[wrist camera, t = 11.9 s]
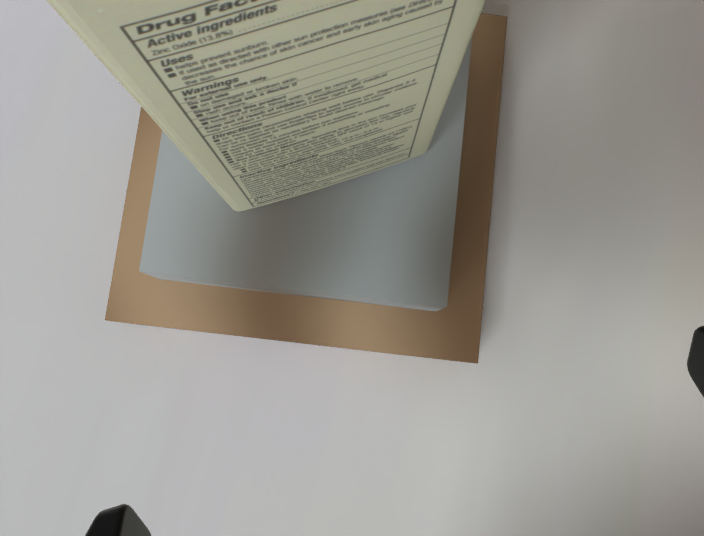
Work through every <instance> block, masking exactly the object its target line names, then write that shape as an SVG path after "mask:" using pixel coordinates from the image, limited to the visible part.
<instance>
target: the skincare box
mask: <svg viewBox="0 0 704 536" xmlns="http://www.w3.org/2000/svg"><path fill="white" fill-rule="evenodd" d="M47 1H48V3H49V4H50V5H51V6H52V7H53V8H54V9H55V10H56V12H57V13H58V14H59V15H60V16H61V17H62V18H63V19H64V21H65V22H66V23H67V24H68V25H69V26H70V27H71V28H72V29H73V30H74V31H75V33H76V34H77V35H78V36H79V37H80V38H81V39H82V41H83V42H84V43H85V44H86V45H87V46H88V47H89V49H90V50H91V51H92V52H93V53H94V54H95V55H96V56H97V58H98V59H99V60H100V61H101V62H102V63H103V64H104V65H105V66H106V68H107V69H108V70H109V71H110V72H111V73H112V74H113V75H114V77H115V78H116V79H117V80H118V81H119V82H120V83H121V84H122V86H123V87H124V88H125V89H126V90H127V91H128V92H129V93H130V94H131V96H132V97H133V98H134V99H135V100H136V101H137V102H138V103H139V104H140V105H141V107H142V108H143V109H144V110H145V111H146V112H147V113H148V114H149V115H150V116H151V118H152V119H153V120H154V121H155V122H156V124H157V125H158V126H159V127H160V128H161V129H162V130H163V132H164V133H165V134H166V135H167V136H168V137H169V138H170V140H171V141H172V142H173V143H174V144H175V145H176V146H177V147H178V148H179V149H180V151H181V152H182V153H183V154H184V155H185V156H186V157H187V158H188V159H189V160H190V162H191V163H192V164H193V165H194V166H195V167H196V168H197V170H198V171H199V172H200V173H201V174H202V175H203V176H204V177H205V179H206V180H207V181H208V182H209V183H210V184H211V185H212V187H213V188H214V189H215V190H216V191H217V192H218V193H219V194H220V195H221V197H222V198H223V199H224V200H225V201H226V202H227V203H228V204H229V205H230V207H231V208H232V209H233V210H235V211H239V212H240V211H245V210H249V209H252V208H256V207H259V206H263V205H267V204H271V203H274V202H278V201H281V200H285V199H288V198H291V197H295V196H299V195H302V194H305V193H308V192H312V191H315V190H318V189H322V188H325V187H328V186H331V185H334V184H337V183H340V182H344V181H347V180H350V179H353V178H356V177H359V176H362V175H365V174H368V173H371V172H374V171H377V170H380V169H383V168H386V167H389V166H392V165H395V164H398V163H401V162H403V161H406V160H409V159H411V158H415V157H418V156H421V155H423V154H425V153H426V152H427V150H428V148H429V145H430V142H431V140H432V138H433V135H434V132H435V130H436V127H437V124H438V122H439V119H440V117H441V114H442V112H443V109H444V106H445V104H446V101H447V99H448V96H449V94H450V91H451V88H452V85H453V83H454V81H455V78H456V76H457V73H458V71H459V68H460V65H461V63H462V60H463V57H464V55H465V52H466V49H467V47H468V44H469V42H470V39H471V37H472V34H473V32H474V29H475V27H476V24H477V22H478V19H479V17H480V14H481V12H482V9H483V6H484V4H485V1H486V0H47Z"/></svg>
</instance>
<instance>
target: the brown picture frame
mask: <svg viewBox="0 0 704 536" xmlns="http://www.w3.org/2000/svg"><path fill="white" fill-rule="evenodd" d="M506 25H507V16H499V15H491V14H482V13H481V14H480V17H479V19H478V22H477V24H476V27H475V29H474V32H473V34H472V37H471V39H470V42H469V44H468V47H467V49H466V52H465V55H464V57H463V60H462V63H461V65H460V68H459V71H458V73H457V76H456V78H455V81H454V83H453V85H452V88H451V91H450V94H449V96H448V99H447V101H446V104H445V106H444V109H443V112H442V114H441V117H440V119H439V122H438V124H437V127H436V130H435V132H434V135H433V138H432V140H431V142H430V145H429V148H428V150H427V152H426V153H425V154H423V155H421V156H418V157H415V158H411V159H409V160H406V161H403V162H401V163H398V164H395V165H392V166H389V167H386V168H383V169H380V170H377V171H374V172H371V173H368V174H365V175H362V176H359V177H356V178H353V179H350V180H347V181H344V182H340V183H337V184H334V185H331V186H328V187H325V188H322V189H318V190H315V191H312V192H308V193H305V194H302V195H299V196H295V197H291V198H288V199H285V200H281V201H278V202H274V203H271V204H267V205H263V206H259V207H256V208H252V209H249V210H245V211H240V212H239V211H235V210H233V209H232V208H231V207H230V205H229V204H228V203H227V202H226V201H225V200H224V199H223V198H222V197H221V195H220V194H219V193H218V192H217V191H216V190H215V189H214V188H213V187H212V185H211V184H210V183H209V182H208V181H207V180H206V179H205V177H204V176H203V175H202V174H201V173H200V172H199V171H198V170H197V168H196V167H195V166H194V165H193V164H192V163H191V162H190V160H189V159H188V158H187V157H186V156H185V155H184V154H183V153H182V152H181V151H180V149H179V148H178V147H177V146H176V145H175V144H174V143H173V142H172V141H171V140H170V138H169V137H168V136H167V135H166V134H165V133H164V132H163V130H162V129H161V128H160V127H159V126H158V125H157V124H156V122H155V121H154V120H153V119H152V118H151V116H150V115H149V114H148V113H147V112H146V111H145V110H144V109H143V108H142V107H141V112H140V118H139V124H138V129H137V135H136V141H135V147H134V153H133V159H132V164H131V170H130V176H129V182H128V188H127V194H126V200H125V205H124V211H123V217H122V223H121V229H120V235H119V241H118V246H117V252H116V258H115V264H114V270H113V276H112V281H111V287H110V293H109V299H108V305H107V311H106V317H105V320H108V321H115V322H123V323H132V324H140V325H149V326H158V327H166V328H175V329H183V330H192V331H201V332H209V333H218V334H227V335H235V336H244V337H253V338H261V339H270V340H279V341H287V342H296V343H304V344H313V345H322V346H330V347H339V348H348V349H356V350H365V351H374V352H382V353H391V354H400V355H408V356H417V357H425V358H434V359H443V360H451V361H460V362H469V363H478V356H479V345H480V333H481V321H482V309H483V297H484V285H485V274H486V262H487V250H488V238H489V226H490V215H491V203H492V191H493V179H494V167H495V155H496V144H497V132H498V120H499V108H500V96H501V84H502V73H503V61H504V49H505V37H506Z"/></svg>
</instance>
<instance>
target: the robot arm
mask: <svg viewBox="0 0 704 536" xmlns="http://www.w3.org/2000/svg"><path fill="white" fill-rule="evenodd" d="M687 367H688V371H689V374H690V376H691V378H692V380H693V381H694V383H695V384H696V386H697V388H698V389H699V391H700V392H701V394H702V396H703V397H704V326H701V327H699V328H697V329H696V330H695V332H694V334H693V338H692V343H691V347H690V352H689V356H688V360H687ZM85 536H151V534H150V531H149V530H148V528H147V527H146V526H145V524H144V523H143V522H142V521H141V519H140V518H139V517H138V515H137V514H136V513H135V511H134V510H133V509H132V508H131V507H130V506H129V505H126V504H122V505H119V506H116V507H112V508H109V509H106V510H103V511H101V512H100V513H99V514H98V515H97V516H96V517H95V519H94V521H93V522H92V524H91V526H90V528H89V530H88V531H87V533H86V535H85Z"/></svg>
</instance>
